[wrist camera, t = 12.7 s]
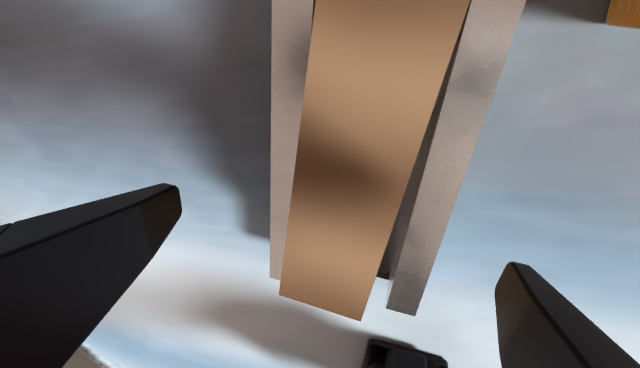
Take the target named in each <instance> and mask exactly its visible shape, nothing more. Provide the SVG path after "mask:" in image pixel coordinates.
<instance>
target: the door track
mask: <svg viewBox="0 0 640 368" xmlns="http://www.w3.org/2000/svg"><path fill="white" fill-rule="evenodd" d="M315 3H316V0H272V46H271V186H270V278H274V279H277V280H281V274H282V266H283V258H284V250H285V242H286V234H287V226H288V218H289V210H290V202H291V194H292V186H293V178H294V170H295V162H296V154H297V146H298V138H299V130H300V122H301V114H302V106H303V98H304V90H305V82H306V74H307V66H308V58H309V51H310V43H311V35H312V27H313V19H314V11H315ZM525 3H526V0H470V2H469V5H468V8H467V11H466V14H465V17H464V20H463V23H462V26H461V29H460V32H459V35H458V38H457V41H456V43H455V46H454V49H453V52H452V55H451V58H450V61H449V64H448V67H447V70H446V73H445V76H444V79H443V82H442V84H441V87H440V90H439V93H438V96H437V99H436V102H435V105H434V108H433V111H432V114H431V117H430V120H429V123H428V125H427V128H426V131H425V134H424V137H423V140H422V143H421V146H420V149H419V152H418V155H417V158H416V161H415V164H414V166H413V169H412V172H411V175H410V178H409V181H408V184H407V187H406V190H405V193H404V196H403V199H402V202H401V205H400V208H399V210H398V213H397V216H396V219H395V222H394V225H393V228H392V231H391V234H390V237H389V240H388V243H387V246H386V249H385V251H384V254H383V257H382V260H381V263H380V266H379V269H378V272H377V275H376V277H380V278H384V279H388V280H389V283H388V293H387V303H386V309H390V310H394V311H397V312H401V313H405V314H409V315H412V316H415V315H416V312H417V309H418V306H419V303H420V301H421V298H422V295H423V292H424V289H425V286H426V284H427V281H428V278H429V275H430V272H431V269H432V267H433V264H434V261H435V258H436V255H437V252H438V250H439V247H440V244H441V241H442V238H443V235H444V233H445V230H446V227H447V224H448V221H449V218H450V216H451V213H452V210H453V207H454V204H455V201H456V199H457V196H458V193H459V190H460V187H461V184H462V182H463V179H464V176H465V173H466V170H467V167H468V165H469V162H470V159H471V156H472V153H473V150H474V148H475V145H476V142H477V139H478V136H479V133H480V131H481V128H482V125H483V122H484V119H485V116H486V114H487V111H488V108H489V105H490V102H491V99H492V97H493V94H494V91H495V88H496V85H497V82H498V80H499V77H500V74H501V71H502V68H503V65H504V63H505V60H506V57H507V54H508V51H509V48H510V46H511V43H512V40H513V37H514V34H515V31H516V29H517V26H518V23H519V20H520V17H521V14H522V12H523V9H524V6H525Z"/></svg>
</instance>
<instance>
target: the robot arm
mask: <svg viewBox="0 0 640 368" xmlns="http://www.w3.org/2000/svg"><path fill="white" fill-rule="evenodd" d="M181 213H182V206H181V199H180V193H179V189H178V188H177V187H176V186H175V185H170V184H166V183H162V184H158V185H154V186H150V187H146V188H142V189H139V190H135V191H131V192H127V193H123V194H120V195H116V196H112V197H108V198H104V199H100V200H97V201H93V202H89V203H85V204H81V205H78V206H74V207H70V208H66V209H62V210H58V211H55V212H51V213H47V214H43V215H39V216H36V217H32V218H28V219H24V220H20V221H17V222H14V223H13V224H12V223H9V224H5V225H1V226H0V368H62V367H63V366H64V365H65V364H66V362H67V361H68V360H69V359H70V358H71V356H72V355H73V354H74V353H75V352H76V350H77V349H78V348H79V347H80V346H81V344H82V343H83V342H84V341H85V340H86V338H87V337H88V336H89V335H90V334H91V332H92V331H93V330H94V329H95V327H96V326H97V325H98V324H99V323H100V321H101V320H102V319H103V318H104V317H105V315H106V314H107V313H108V312H109V311H110V309H111V308H112V307H113V306H114V304H115V303H116V302H117V301H118V300H119V298H120V297H121V296H122V295H123V294H124V292H125V291H126V290H127V289H128V288H129V286H130V285H131V284H132V283H133V282H134V280H135V279H136V278H137V277H138V275H139V274H140V273H141V272H142V271H143V269H144V268H145V267H146V266H147V265H148V263H149V262H150V261H151V259H152V258H153V257H154V255H155V254H156V253H157V251H158V250H159V248H160V247H161V245H162V244H163V242H164V241H165V239H166V238H167V236H168V235H169V233H170V232H171V230H172V229H173V227H174V226H175V224H176V223H177V221H178V220H179V218H180V216H181ZM495 304H496V317H497V330H498V343H499V353H500V359H501V365H502V368H640V364H639V363H637V362H636V361H635V360H634V359H633V358H632V357H631V356H630V355H628V354H627V353H626V352H625V351H624V350H623V349H622V348H621V347H620V346H618V345H617V344H616V343H615V342H614V341H613V340H612V339H611V338H610V337H608V336H607V335H606V334H605V333H604V332H603V331H602V330H601V329H599V328H598V327H597V326H596V325H595V324H594V323H593V322H592V321H591V320H589V319H588V318H587V317H586V316H585V315H584V314H583V313H582V312H581V311H579V310H578V309H577V308H576V307H575V306H574V305H573V304H572V303H570V302H569V301H568V300H567V299H566V298H565V297H564V296H563V295H562V294H560V293H559V292H558V291H557V290H556V289H555V288H554V287H553V286H552V285H550V284H549V283H548V282H547V281H546V280H545V279H544V278H543V277H541V276H540V275H539V274H538V273H537V272H536V271H535V270H534V269H533V268H531V267H530V266H529V265H526V264H521V263H517V262H509V263H508V264H507V265H506V267H505V269H504V271H503V273H502V275H501V277H500V279H499V281H498V283H497V285H496V288H495ZM361 368H448V363H447V361H446V360H443V359H440V358H437V357H433V356H430V355H426V354H423V353H419V352H416V351H412V350H409V349H405V348H402V347H398V346H395V345H391V344H388V343H384V342H381V341H377V340H373V339H372V340H369V341H368V343H367V347H366V351H365V355H364V359H363V363H362V367H361Z"/></svg>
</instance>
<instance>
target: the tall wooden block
mask: <svg viewBox="0 0 640 368" xmlns="http://www.w3.org/2000/svg"><path fill="white" fill-rule="evenodd" d="M469 2H470V0H316V3H315V11H314V19H313V27H312V35H311V43H310V51H309V58H308V66H307V74H306V82H305V90H304V98H303V106H302V114H301V122H300V130H299V138H298V146H297V154H296V162H295V170H294V178H293V186H292V194H291V202H290V210H289V218H288V226H287V234H286V242H285V250H284V258H283V266H282V274H281V282H280V290H279V295H281V296H284V297H287V298H290V299H293V300H297V301H300V302H303V303H306V304H309V305H312V306H315V307H318V308H321V309H324V310H327V311H330V312H333V313H336V314H339V315H342V316H346V317H349V318H352V319H355V320H358V321H361V319H362V316H363V313H364V310H365V307H366V304H367V301H368V298H369V295H370V292H371V290H372V287H373V284H374V281H375V278H376V275H377V272H378V269H379V266H380V263H381V260H382V257H383V254H384V251H385V249H386V246H387V243H388V240H389V237H390V234H391V231H392V228H393V225H394V222H395V219H396V216H397V213H398V210H399V208H400V205H401V202H402V199H403V196H404V193H405V190H406V187H407V184H408V181H409V178H410V175H411V172H412V169H413V166H414V164H415V161H416V158H417V155H418V152H419V149H420V146H421V143H422V140H423V137H424V134H425V131H426V128H427V125H428V123H429V120H430V117H431V114H432V111H433V108H434V105H435V102H436V99H437V96H438V93H439V90H440V87H441V84H442V82H443V79H444V76H445V73H446V70H447V67H448V64H449V61H450V58H451V55H452V52H453V49H454V46H455V43H456V41H457V38H458V35H459V32H460V29H461V26H462V23H463V20H464V17H465V14H466V11H467V8H468V5H469Z"/></svg>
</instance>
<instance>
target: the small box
mask: <svg viewBox="0 0 640 368" xmlns="http://www.w3.org/2000/svg"><path fill="white" fill-rule="evenodd" d="M606 24H607V25H610V26H618V27H626V28H634V29H640V0H611V1H610V5H609V9H608V13H607V17H606Z"/></svg>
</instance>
